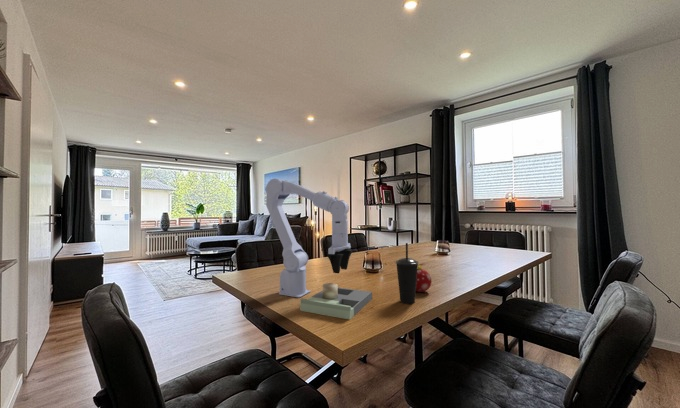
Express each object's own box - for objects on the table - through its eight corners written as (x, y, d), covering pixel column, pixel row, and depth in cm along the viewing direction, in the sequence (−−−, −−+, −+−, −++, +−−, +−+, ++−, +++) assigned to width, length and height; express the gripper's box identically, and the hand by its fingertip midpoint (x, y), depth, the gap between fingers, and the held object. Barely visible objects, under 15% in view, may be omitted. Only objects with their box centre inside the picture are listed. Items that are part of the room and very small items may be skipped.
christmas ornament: (406, 288, 111) (405, 263, 111) (427, 288, 111) (427, 263, 111) (411, 295, 102) (410, 267, 102) (434, 295, 102) (434, 267, 102)
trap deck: (300, 310, 88) (300, 299, 88) (329, 292, 106) (329, 283, 106) (349, 319, 81) (349, 307, 81) (372, 298, 99) (372, 288, 99)
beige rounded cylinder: (320, 298, 93) (320, 286, 93) (327, 293, 97) (327, 282, 97) (333, 300, 90) (333, 288, 90) (340, 295, 95) (340, 284, 95)
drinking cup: (398, 296, 101) (397, 241, 101) (420, 299, 98) (419, 242, 98) (394, 303, 94) (393, 244, 94) (417, 306, 91) (416, 245, 91)
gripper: (341, 235, 93) (341, 276, 93) (357, 232, 106) (357, 267, 106) (322, 235, 96) (323, 274, 96) (340, 231, 109) (341, 266, 109)
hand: (340, 271), depth 101 cm, fingers open, 6 cm apart
